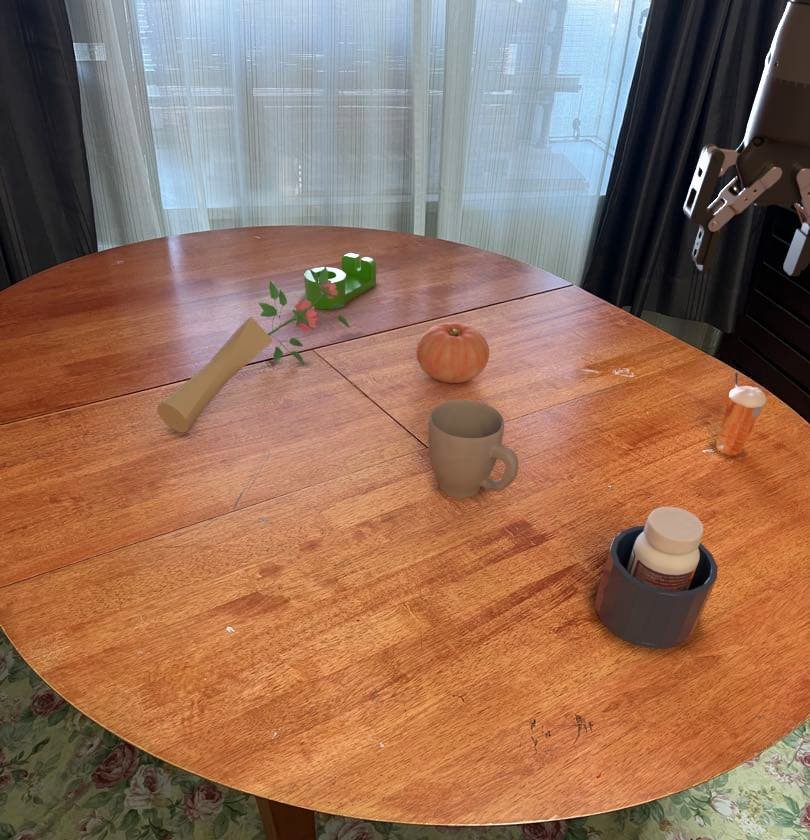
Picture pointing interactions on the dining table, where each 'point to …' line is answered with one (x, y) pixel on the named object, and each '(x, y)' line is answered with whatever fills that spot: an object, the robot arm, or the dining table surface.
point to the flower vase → (240, 356)
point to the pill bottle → (667, 549)
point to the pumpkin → (452, 352)
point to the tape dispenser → (342, 281)
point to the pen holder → (650, 599)
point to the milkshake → (739, 417)
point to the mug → (468, 448)
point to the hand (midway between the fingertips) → (746, 270)
